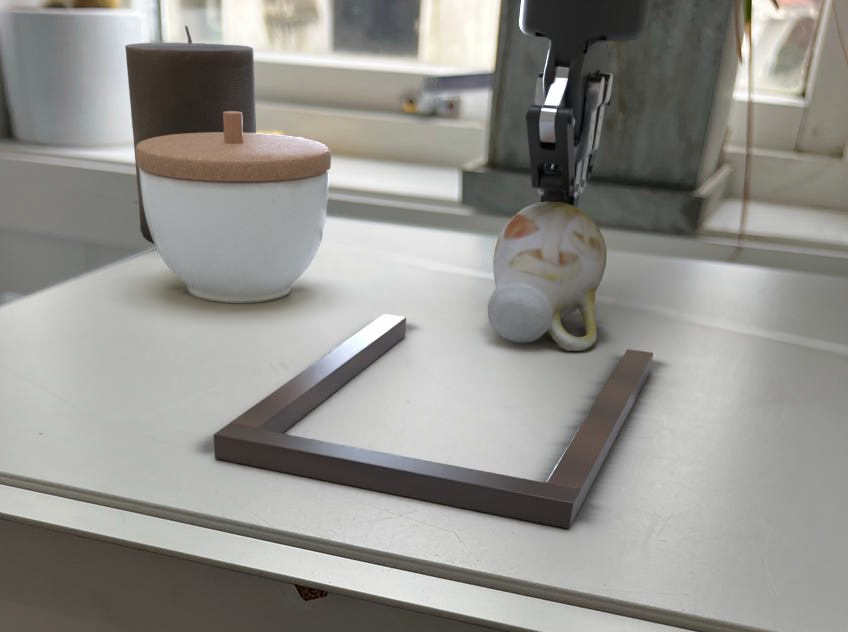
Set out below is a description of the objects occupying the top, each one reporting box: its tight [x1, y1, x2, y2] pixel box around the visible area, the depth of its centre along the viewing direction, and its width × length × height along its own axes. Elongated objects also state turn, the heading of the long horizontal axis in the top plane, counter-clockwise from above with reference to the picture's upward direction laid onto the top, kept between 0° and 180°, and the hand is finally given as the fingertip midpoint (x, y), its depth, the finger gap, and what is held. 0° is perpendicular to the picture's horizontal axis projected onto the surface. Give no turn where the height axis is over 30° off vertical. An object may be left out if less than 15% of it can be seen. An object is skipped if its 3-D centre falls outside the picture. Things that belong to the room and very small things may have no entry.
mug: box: [487, 201, 608, 352], centre depth 63 cm, size 8×10×10 cm
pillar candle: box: [124, 25, 257, 245], centre depth 79 cm, size 10×10×15 cm
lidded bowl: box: [134, 111, 332, 304], centre depth 67 cm, size 13×13×11 cm
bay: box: [213, 313, 654, 530], centre depth 52 cm, size 22×16×1 cm
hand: (552, 254), depth 68 cm, fingers closed
